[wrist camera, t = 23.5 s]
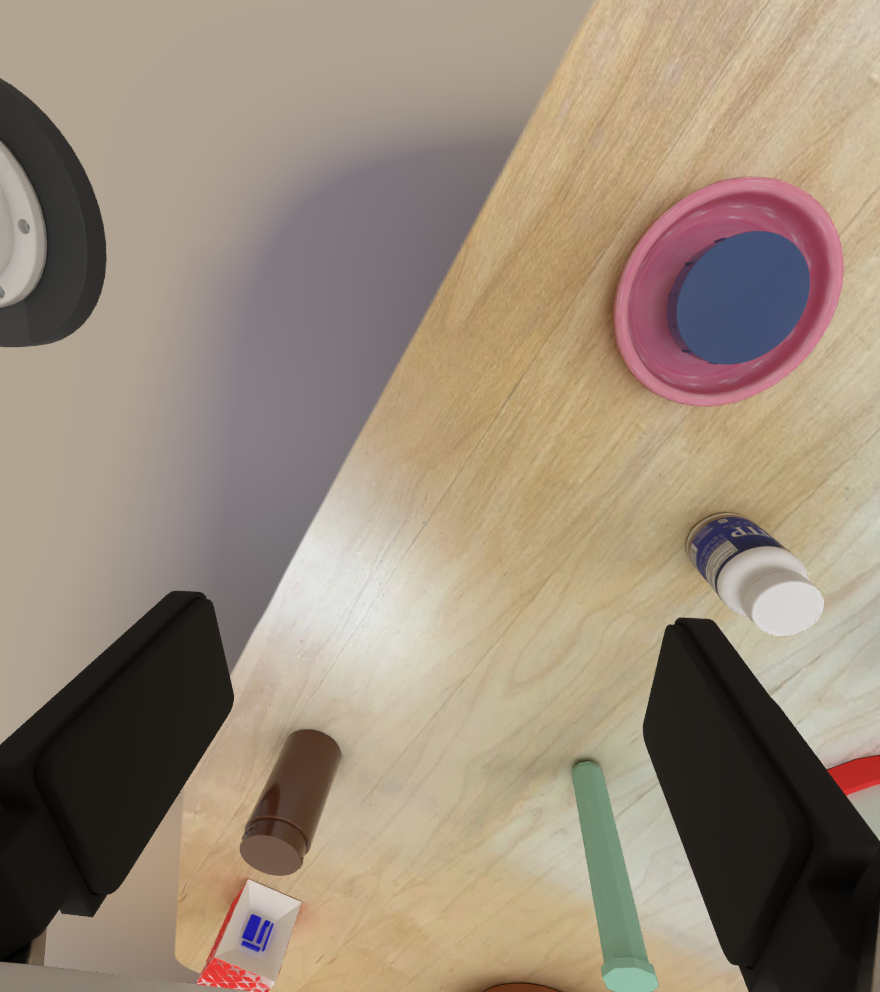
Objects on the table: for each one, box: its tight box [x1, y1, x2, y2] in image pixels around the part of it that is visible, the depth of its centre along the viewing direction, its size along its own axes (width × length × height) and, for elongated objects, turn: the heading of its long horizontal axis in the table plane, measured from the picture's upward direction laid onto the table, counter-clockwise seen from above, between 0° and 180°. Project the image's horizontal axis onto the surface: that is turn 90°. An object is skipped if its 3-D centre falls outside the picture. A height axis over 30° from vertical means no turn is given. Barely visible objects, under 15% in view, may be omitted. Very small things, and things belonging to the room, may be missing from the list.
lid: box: [666, 231, 810, 365], centre depth 26 cm, size 7×7×2 cm
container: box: [572, 761, 659, 992], centre depth 38 cm, size 4×4×16 cm
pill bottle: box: [686, 513, 824, 636], centre depth 31 cm, size 5×5×9 cm
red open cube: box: [197, 879, 302, 992], centre depth 58 cm, size 8×8×8 cm
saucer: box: [613, 177, 843, 406], centre depth 28 cm, size 12×12×3 cm
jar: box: [240, 730, 341, 876], centre depth 44 cm, size 6×6×10 cm
